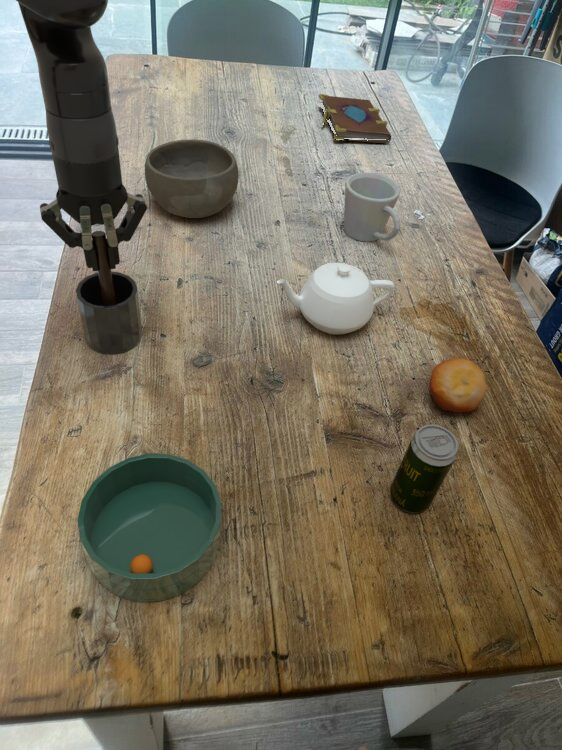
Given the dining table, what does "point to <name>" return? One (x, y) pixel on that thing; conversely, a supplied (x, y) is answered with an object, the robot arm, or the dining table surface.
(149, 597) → the mixing bowl
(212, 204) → the bowl
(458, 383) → the fruit
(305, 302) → the teapot
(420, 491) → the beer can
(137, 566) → the ball
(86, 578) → the dining table surface
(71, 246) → the robot arm
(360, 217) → the mug
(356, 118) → the book
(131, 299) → the crock
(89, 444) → the dining table surface
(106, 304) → the stick
